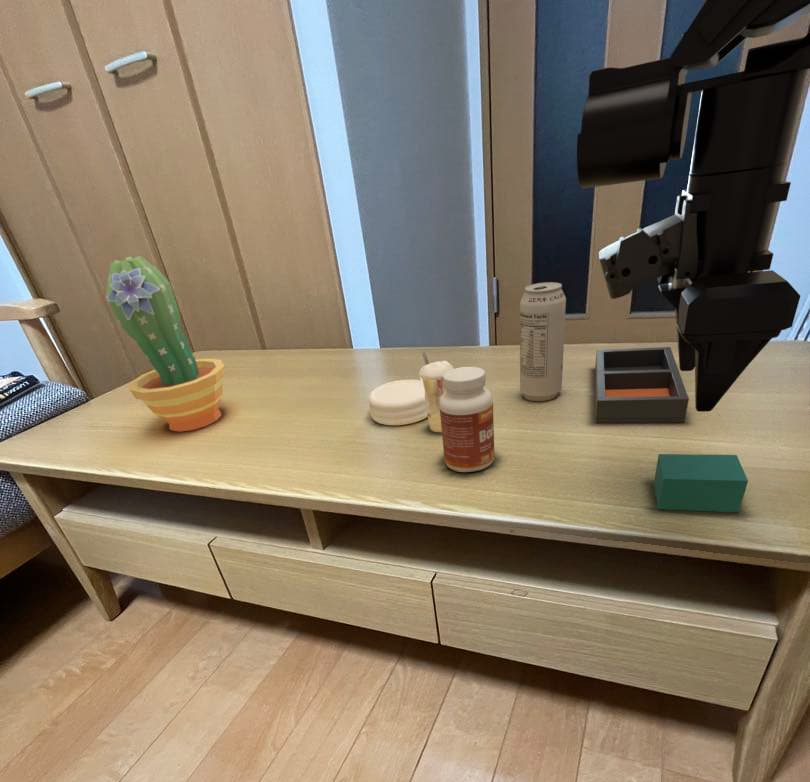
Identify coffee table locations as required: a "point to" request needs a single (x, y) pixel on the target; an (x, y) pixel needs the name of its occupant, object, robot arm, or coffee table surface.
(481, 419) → the pill bottle
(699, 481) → the green rectangular block
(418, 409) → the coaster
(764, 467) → the coffee table surface
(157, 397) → the potted cactus
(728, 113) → the robot arm
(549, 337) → the energy drink can
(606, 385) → the pad holder
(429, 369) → the milkshake
